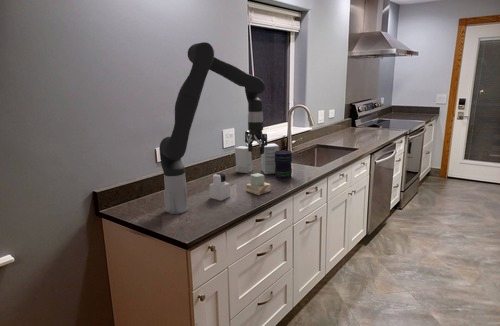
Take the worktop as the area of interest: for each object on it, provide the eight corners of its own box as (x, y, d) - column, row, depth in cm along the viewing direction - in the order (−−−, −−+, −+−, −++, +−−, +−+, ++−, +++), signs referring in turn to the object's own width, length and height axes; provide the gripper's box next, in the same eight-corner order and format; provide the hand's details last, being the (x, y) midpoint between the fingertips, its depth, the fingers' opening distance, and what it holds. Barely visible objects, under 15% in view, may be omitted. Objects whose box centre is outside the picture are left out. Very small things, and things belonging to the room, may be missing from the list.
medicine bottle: (220, 194, 179) (219, 171, 176) (230, 196, 174) (229, 173, 172) (210, 198, 174) (208, 174, 171) (220, 201, 169) (219, 177, 166)
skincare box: (252, 171, 220) (251, 146, 216) (246, 173, 214) (246, 148, 211) (241, 169, 224) (240, 145, 220) (235, 172, 219) (234, 147, 215)
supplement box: (279, 173, 214) (279, 145, 210) (264, 174, 212) (264, 146, 208) (275, 169, 223) (275, 143, 219) (261, 170, 221) (260, 144, 217)
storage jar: (291, 174, 209) (291, 150, 206) (292, 179, 200) (292, 153, 196) (275, 174, 210) (274, 150, 207) (274, 179, 201) (274, 154, 197)
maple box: (258, 195, 176) (258, 188, 175) (246, 191, 183) (246, 184, 182) (271, 191, 182) (270, 184, 181) (259, 187, 188) (259, 180, 188)
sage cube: (256, 186, 178) (256, 176, 177) (250, 184, 182) (250, 174, 180) (264, 184, 181) (264, 175, 180) (258, 182, 185) (257, 173, 183)
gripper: (240, 120, 176) (241, 151, 180) (259, 122, 166) (260, 156, 170) (251, 118, 181) (252, 149, 185) (271, 121, 171) (271, 153, 174)
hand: (256, 152), depth 177 cm, fingers open, 8 cm apart
